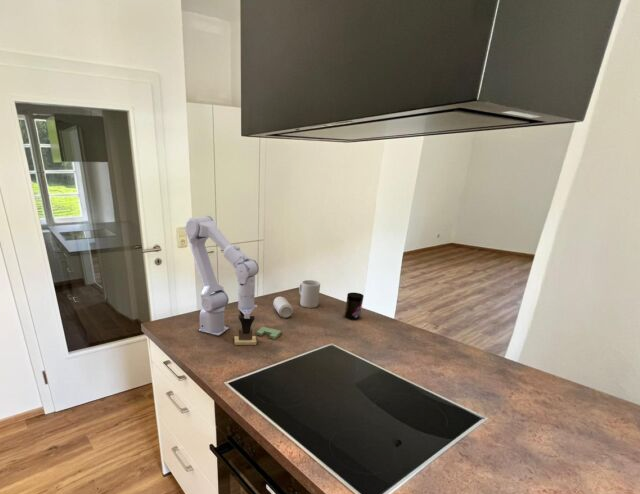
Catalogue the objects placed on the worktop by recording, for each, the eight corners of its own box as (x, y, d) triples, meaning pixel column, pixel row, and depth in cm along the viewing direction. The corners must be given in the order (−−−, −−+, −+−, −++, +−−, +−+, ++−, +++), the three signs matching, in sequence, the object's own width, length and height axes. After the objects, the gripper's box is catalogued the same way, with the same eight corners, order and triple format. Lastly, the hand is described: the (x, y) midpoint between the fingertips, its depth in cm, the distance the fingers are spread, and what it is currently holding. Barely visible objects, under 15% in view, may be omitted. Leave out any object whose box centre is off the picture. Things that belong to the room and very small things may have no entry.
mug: (321, 306, 171) (324, 283, 166) (307, 309, 167) (310, 286, 162) (305, 298, 180) (307, 277, 176) (291, 301, 176) (293, 279, 172)
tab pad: (234, 344, 132) (234, 332, 130) (234, 335, 139) (234, 323, 137) (256, 344, 133) (256, 332, 131) (254, 335, 140) (255, 323, 137)
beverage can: (277, 317, 155) (270, 306, 166) (290, 320, 156) (283, 309, 167) (281, 303, 153) (275, 294, 163) (295, 306, 154) (287, 297, 165)
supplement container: (349, 320, 155) (352, 298, 151) (341, 314, 161) (344, 293, 157) (363, 319, 157) (366, 297, 152) (354, 313, 162) (358, 292, 158)
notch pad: (256, 334, 140) (256, 332, 140) (262, 329, 145) (262, 326, 145) (275, 339, 137) (275, 336, 137) (281, 333, 142) (281, 330, 141)
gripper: (259, 301, 121) (257, 337, 126) (256, 287, 134) (255, 321, 139) (238, 301, 120) (237, 337, 126) (237, 287, 134) (236, 321, 139)
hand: (245, 329), depth 133 cm, fingers open, 7 cm apart
